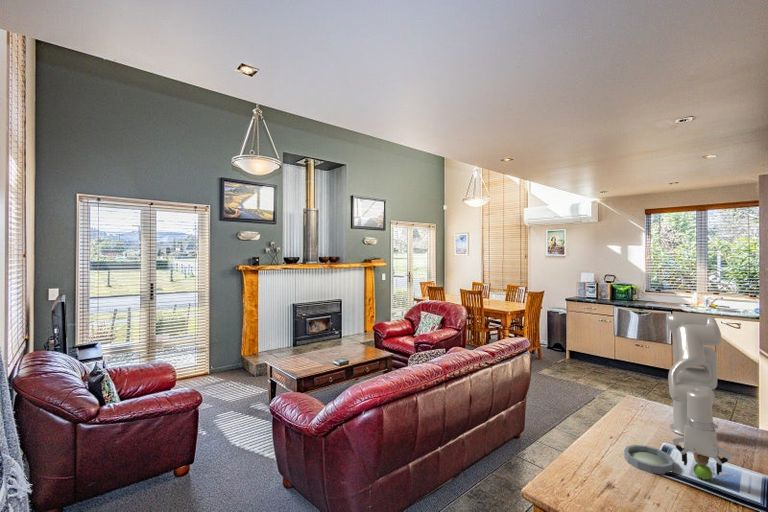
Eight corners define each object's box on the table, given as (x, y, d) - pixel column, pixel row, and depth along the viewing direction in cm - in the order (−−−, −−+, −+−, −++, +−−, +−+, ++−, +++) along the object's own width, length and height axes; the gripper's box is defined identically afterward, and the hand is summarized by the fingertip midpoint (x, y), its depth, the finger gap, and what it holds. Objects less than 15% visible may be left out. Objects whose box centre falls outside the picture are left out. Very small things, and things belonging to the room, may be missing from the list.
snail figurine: (687, 475, 146) (686, 444, 146) (702, 473, 147) (701, 443, 147) (700, 483, 141) (699, 451, 141) (716, 482, 142) (715, 450, 142)
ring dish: (630, 447, 168) (629, 441, 168) (676, 461, 156) (676, 454, 156) (620, 463, 156) (620, 456, 156) (669, 479, 144) (669, 471, 144)
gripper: (731, 427, 140) (732, 472, 140) (673, 414, 153) (674, 456, 153) (730, 434, 135) (731, 481, 135) (670, 420, 147) (671, 464, 147)
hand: (701, 468), depth 144 cm, fingers open, 9 cm apart
